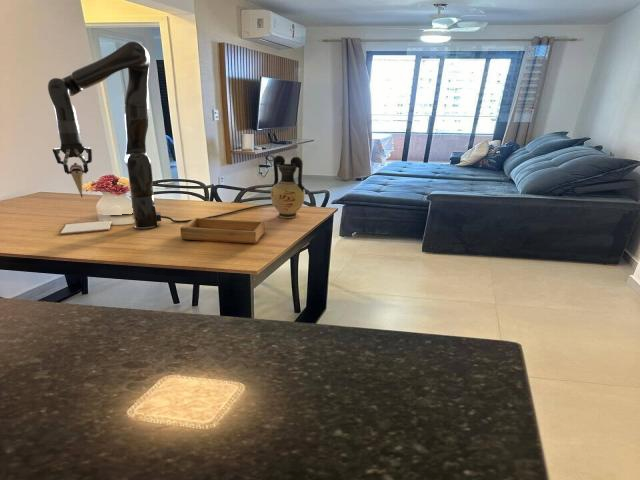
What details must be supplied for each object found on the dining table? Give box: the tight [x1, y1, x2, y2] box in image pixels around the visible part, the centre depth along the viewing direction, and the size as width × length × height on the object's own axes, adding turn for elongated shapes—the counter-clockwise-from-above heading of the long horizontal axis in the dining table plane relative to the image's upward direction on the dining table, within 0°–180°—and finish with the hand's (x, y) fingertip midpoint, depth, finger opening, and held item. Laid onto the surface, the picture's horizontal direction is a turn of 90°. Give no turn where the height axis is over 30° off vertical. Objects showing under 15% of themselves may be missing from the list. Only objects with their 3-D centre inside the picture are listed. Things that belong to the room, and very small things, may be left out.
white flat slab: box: [59, 220, 112, 236], centre depth 169 cm, size 18×16×1 cm
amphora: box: [270, 154, 306, 219], centre depth 189 cm, size 18×17×30 cm
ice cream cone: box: [68, 162, 85, 198], centre depth 161 cm, size 6×6×15 cm
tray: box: [179, 217, 265, 245], centre depth 159 cm, size 31×15×6 cm, turn 85°
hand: (77, 173), depth 160 cm, fingers closed on ice cream cone, 5 cm apart
